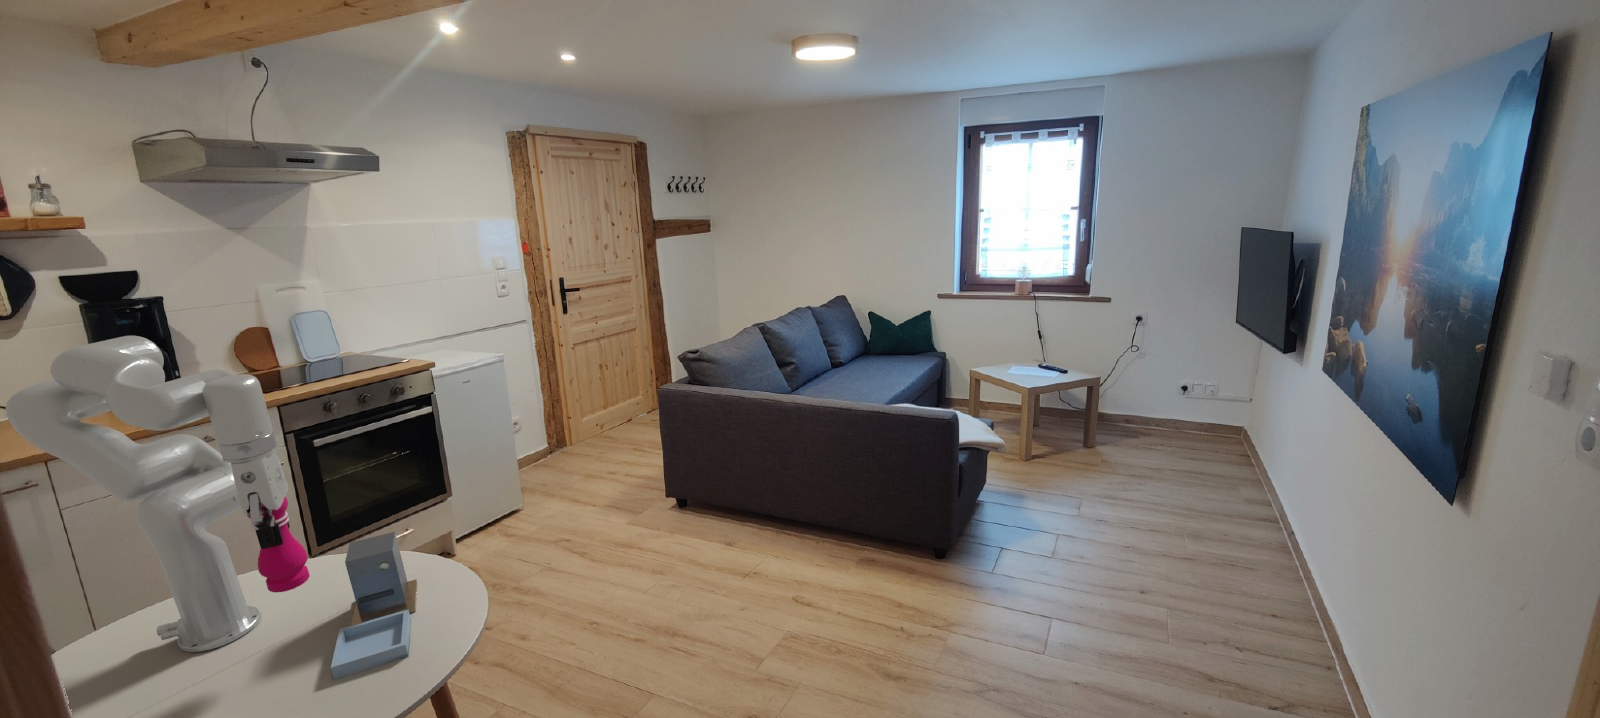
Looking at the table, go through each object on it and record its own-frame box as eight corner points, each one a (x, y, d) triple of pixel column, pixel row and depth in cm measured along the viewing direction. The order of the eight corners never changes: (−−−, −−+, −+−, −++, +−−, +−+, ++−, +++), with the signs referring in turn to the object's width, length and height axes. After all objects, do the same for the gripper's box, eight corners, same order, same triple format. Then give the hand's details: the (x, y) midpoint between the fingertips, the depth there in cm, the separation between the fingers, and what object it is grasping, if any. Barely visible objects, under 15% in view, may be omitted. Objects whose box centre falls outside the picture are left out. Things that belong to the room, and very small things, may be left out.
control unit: (352, 629, 132) (334, 568, 128) (358, 599, 141) (342, 541, 137) (415, 611, 137) (400, 551, 132) (417, 583, 146) (403, 526, 142)
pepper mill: (287, 596, 120) (257, 496, 114) (254, 592, 121) (223, 493, 115) (322, 572, 127) (296, 476, 121) (290, 568, 128) (263, 474, 122)
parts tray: (334, 679, 119) (330, 667, 118) (342, 640, 129) (339, 629, 128) (408, 656, 124) (405, 644, 123) (411, 620, 134) (408, 609, 133)
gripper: (264, 459, 110) (292, 556, 115) (285, 425, 125) (309, 512, 130) (206, 470, 107) (237, 568, 112) (234, 433, 121) (261, 522, 127)
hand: (275, 537), depth 121 cm, fingers closed on pepper mill, 5 cm apart
